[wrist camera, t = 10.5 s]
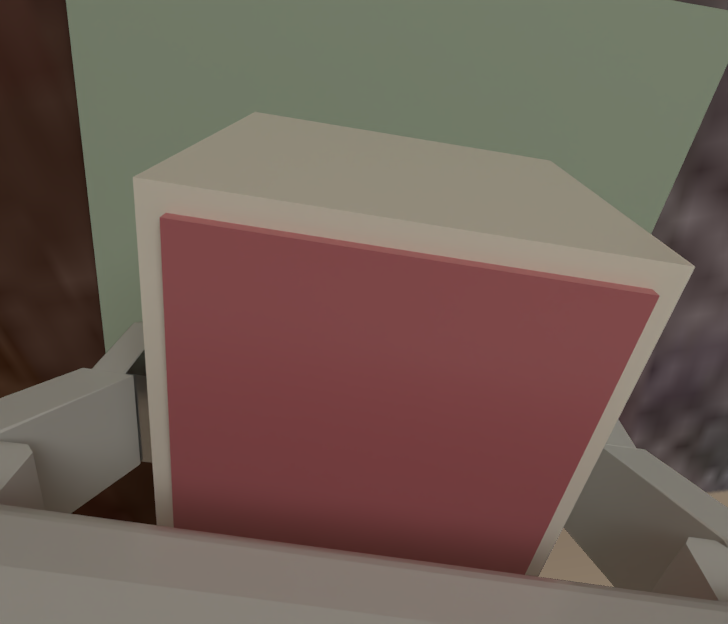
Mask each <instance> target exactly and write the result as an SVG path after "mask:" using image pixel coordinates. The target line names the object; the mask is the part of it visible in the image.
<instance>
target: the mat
mask: <svg viewBox="0 0 728 624" xmlns="http://www.w3.org/2000/svg"><path fill="white" fill-rule="evenodd" d="M66 6H67V15H68V23H69V32H70V41H71V50H72V59H73V68H74V77H75V85H76V94H77V103H78V112H79V121H80V130H81V138H82V147H83V156H84V165H85V174H86V183H87V192H88V200H89V209H90V218H91V227H92V236H93V245H94V253H95V262H96V271H97V280H98V289H99V298H100V307H101V315H102V324H103V333H104V342H105V351H106V353H107V352H108V350H109V349H110V348H111V347H112V346H113V345H114V344H115V343H116V342H117V341H118V339H119V338H120V337H121V336H122V335H123V334H124V333H125V332H126V331H127V330H128V328H129V327H130V326H131V325H132V324H133V323H134V322H139V321H141V322H143V320H142V305H141V291H140V276H139V262H138V247H137V233H136V218H135V204H134V189H133V177H134V176H136V175H137V174H139V173H141V172H143V171H145V170H147V169H149V168H151V167H153V166H154V165H156V164H158V163H160V162H162V161H164V160H166V159H168V158H169V157H171V156H173V155H175V154H177V153H179V152H181V151H183V150H184V149H186V148H188V147H190V146H192V145H194V144H196V143H198V142H199V141H201V140H203V139H205V138H207V137H209V136H211V135H213V134H214V133H216V132H218V131H220V130H222V129H224V128H226V127H228V126H229V125H231V124H233V123H235V122H237V121H239V120H241V119H243V118H244V117H246V116H248V115H250V114H252V113H254V112H260V113H266V114H272V115H278V116H284V117H290V118H296V119H302V120H308V121H314V122H320V123H326V124H332V125H338V126H344V127H350V128H357V129H363V130H369V131H375V132H381V133H387V134H393V135H399V136H405V137H411V138H417V139H423V140H429V141H435V142H441V143H447V144H453V145H459V146H466V147H472V148H478V149H484V150H490V151H496V152H502V153H508V154H514V155H520V156H526V157H532V158H538V159H544V160H550V161H552V162H553V163H554V164H556V165H557V166H558V167H560V168H561V169H563V170H564V171H565V172H567V173H568V174H569V175H571V176H572V177H573V178H575V179H576V180H578V181H579V182H580V183H582V184H583V185H584V186H586V187H587V188H588V189H590V190H591V191H593V192H594V193H595V194H597V195H598V196H599V197H601V198H602V199H604V200H605V201H606V202H608V203H609V204H610V205H612V206H613V207H614V208H616V209H617V210H619V211H620V212H621V213H623V214H624V215H625V216H627V217H628V218H629V219H631V220H632V221H634V222H635V223H636V224H638V225H639V226H640V227H642V228H643V229H644V230H646V231H647V232H649V233H650V234H651V233H652V231H653V229H654V226H655V224H656V222H657V220H658V218H659V215H660V213H661V211H662V209H663V206H664V204H665V202H666V200H667V198H668V195H669V193H670V191H671V189H672V186H673V184H674V182H675V180H676V177H677V175H678V173H679V171H680V169H681V166H682V164H683V162H684V160H685V157H686V155H687V153H688V151H689V148H690V146H691V144H692V142H693V140H694V137H695V135H696V133H697V131H698V128H699V126H700V124H701V122H702V119H703V117H704V115H705V113H706V111H707V108H708V106H709V104H710V102H711V99H712V97H713V95H714V93H715V90H716V88H717V86H718V84H719V82H720V79H721V77H722V75H723V73H724V70H725V68H726V66H727V64H728V10H722V9H717V8H711V7H706V6H700V5H695V4H689V3H684V2H678V1H673V0H66Z"/></svg>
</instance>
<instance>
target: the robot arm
mask: <svg viewBox="0 0 728 624" xmlns="http://www.w3.org/2000/svg"><path fill="white" fill-rule="evenodd" d="M140 461H143V462H152V450H151V435H150V421H149V406H148V392H147V377H146V363H145V349H144V334H143V322H141V321H139V322H134V323H133V324H132V325H131V326H130V327H129V328H128V330H127V331H126V332H125V333H124V334H123V335H122V336H121V337H120V338H119V339H118V341H117V342H116V343H115V344H114V345H113V346H112V347H111V348H110V349H109V350H108V352H107V353H106V354H105V355H104V356H103V357H102V358H101V359H100V360H99V361H98V363H97V364H96V365H95V366H94V367H93V368H92V369H87V368H81V369H78V370H76V371H73V372H70V373H68V374H65V375H62V376H59V377H57V378H54V379H51V380H49V381H46V382H43V383H40V384H38V385H35V386H32V387H30V388H27V389H24V390H22V391H19V392H16V393H13V394H11V395H8V396H5V397H3V398H0V624H728V508H727V507H726V506H724V505H723V504H722V503H720V502H719V501H717V500H716V499H714V498H713V497H711V496H710V495H709V494H707V493H706V492H704V491H703V490H702V489H700V488H699V487H697V486H696V485H694V484H693V483H692V482H690V481H689V480H687V479H686V478H685V477H683V476H682V475H680V474H679V473H677V472H676V471H675V470H673V469H672V468H670V467H669V466H667V465H666V464H665V463H663V462H662V461H660V460H659V459H657V458H656V457H655V456H653V455H652V454H650V453H649V452H647V451H646V450H643V449H637V448H636V447H635V445H634V444H633V442H632V441H631V439H630V437H629V436H628V434H627V433H626V431H625V429H624V428H623V426H622V424H621V423H620V421H619V420H617V422H616V424H615V426H614V428H613V430H612V432H611V434H610V436H609V438H608V440H607V442H606V444H605V446H604V448H603V450H602V452H601V454H600V456H599V458H598V460H597V462H596V464H595V466H594V468H593V470H592V472H591V474H590V476H589V478H588V480H587V481H586V483H585V485H584V487H583V489H582V491H581V493H580V495H579V497H578V499H577V501H576V503H575V505H574V507H573V509H572V511H571V513H570V515H569V517H568V519H567V521H566V523H565V525H564V528H565V530H566V531H567V532H568V533H569V534H570V535H571V537H572V538H573V539H574V540H575V541H576V542H577V544H578V545H579V546H580V547H581V548H582V549H583V551H584V552H585V553H586V554H587V555H588V556H589V558H590V559H591V560H592V561H593V562H594V563H595V564H596V566H597V567H598V568H599V569H600V570H601V572H602V573H603V574H604V575H605V576H606V577H607V579H608V580H609V581H610V582H611V583H612V584H613V586H614V587H609V586H602V585H594V584H587V583H580V582H573V581H566V580H558V579H551V578H544V577H536V576H529V575H522V574H514V573H507V572H500V571H493V570H485V569H478V568H471V567H463V566H456V565H449V564H441V563H434V562H426V561H419V560H411V559H404V558H396V557H389V556H382V555H374V554H367V553H359V552H352V551H344V550H337V549H329V548H322V547H314V546H307V545H299V544H292V543H284V542H277V541H269V540H262V539H255V538H247V537H240V536H232V535H225V534H217V533H210V532H202V531H195V530H188V529H180V528H173V527H165V526H158V525H151V524H143V523H136V522H128V521H121V520H113V519H106V518H99V517H91V516H84V515H76V514H71V513H72V512H74V511H75V510H76V509H78V508H79V507H81V506H82V505H83V504H85V503H86V502H88V501H89V500H91V499H92V498H93V497H95V496H96V495H98V494H99V493H100V492H102V491H103V490H105V489H106V488H107V487H109V486H110V485H112V484H113V483H114V482H116V481H117V480H119V479H120V478H121V477H123V476H124V475H126V474H127V473H128V472H130V471H131V470H133V469H134V468H135V467H137V466H138V465H140Z"/></svg>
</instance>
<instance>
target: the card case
mask: <svg viewBox="0 0 728 624" xmlns="http://www.w3.org/2000/svg"><path fill="white" fill-rule="evenodd" d="M133 189H134V204H135V218H136V233H137V247H138V262H139V276H140V291H141V305H142V320H143V334H144V349H145V363H146V377H147V392H148V406H149V421H150V435H151V450H152V464H153V479H154V493H155V508H156V522H157V525H158V526H165V527H173V528H180V529H188V530H195V531H202V532H210V533H217V534H225V535H232V536H240V537H247V538H255V539H262V540H269V541H277V542H284V543H292V544H299V545H307V546H314V547H322V548H329V549H337V550H344V551H352V552H359V553H367V554H374V555H382V556H389V557H396V558H404V559H411V560H419V561H426V562H434V563H441V564H449V565H456V566H463V567H471V568H478V569H485V570H493V571H500V572H507V573H514V574H522V575H529V576H536V577H538V576H539V574H540V572H541V570H542V568H543V567H544V565H545V563H546V560H547V559H548V557H549V555H550V552H551V551H552V549H553V547H554V544H555V543H556V541H557V539H558V537H559V535H560V533H561V531H562V529H563V527H564V525H565V523H566V521H567V519H568V517H569V515H570V513H571V511H572V509H573V507H574V505H575V503H576V501H577V499H578V497H579V495H580V493H581V491H582V489H583V487H584V485H585V483H586V481H587V480H588V478H589V476H590V474H591V472H592V470H593V468H594V466H595V464H596V462H597V460H598V458H599V456H600V454H601V452H602V450H603V448H604V446H605V444H606V442H607V440H608V438H609V436H610V434H611V432H612V430H613V428H614V426H615V424H616V422H617V420H618V418H619V416H620V414H621V412H622V410H623V408H624V406H625V404H626V402H627V400H628V398H629V396H630V395H631V393H632V391H633V389H634V387H635V385H636V383H637V381H638V379H639V377H640V375H641V373H642V371H643V369H644V367H645V365H646V363H647V361H648V359H649V357H650V355H651V353H652V351H653V349H654V347H655V345H656V343H657V341H658V339H659V337H660V335H661V333H662V331H663V329H664V327H665V325H666V323H667V321H668V319H669V317H670V315H671V313H672V311H673V310H674V308H675V306H676V304H677V302H678V300H679V298H680V296H681V294H682V292H683V290H684V288H685V286H686V284H687V282H688V280H689V278H690V276H691V274H692V272H693V270H694V268H695V266H694V265H692V264H691V263H689V262H688V261H687V260H685V259H684V258H683V257H681V256H680V255H679V254H677V253H676V252H674V251H673V250H672V249H670V248H669V247H668V246H666V245H665V244H664V243H662V242H661V241H659V240H658V239H657V238H655V237H654V236H653V235H651V234H650V233H649V232H647V231H646V230H644V229H643V228H642V227H640V226H639V225H638V224H636V223H635V222H634V221H632V220H631V219H629V218H628V217H627V216H625V215H624V214H623V213H621V212H620V211H619V210H617V209H616V208H614V207H613V206H612V205H610V204H609V203H608V202H606V201H605V200H604V199H602V198H601V197H599V196H598V195H597V194H595V193H594V192H593V191H591V190H590V189H588V188H587V187H586V186H584V185H583V184H582V183H580V182H579V181H578V180H576V179H575V178H573V177H572V176H571V175H569V174H568V173H567V172H565V171H564V170H563V169H561V168H560V167H558V166H557V165H556V164H554V163H553V162H552V161H550V160H544V159H538V158H532V157H526V156H520V155H514V154H508V153H502V152H496V151H490V150H484V149H478V148H472V147H466V146H459V145H453V144H447V143H441V142H435V141H429V140H423V139H417V138H411V137H405V136H399V135H393V134H387V133H381V132H375V131H369V130H363V129H357V128H350V127H344V126H338V125H332V124H326V123H320V122H314V121H308V120H302V119H296V118H290V117H284V116H278V115H272V114H266V113H260V112H254V113H252V114H250V115H248V116H246V117H244V118H243V119H241V120H239V121H237V122H235V123H233V124H231V125H229V126H228V127H226V128H224V129H222V130H220V131H218V132H216V133H214V134H213V135H211V136H209V137H207V138H205V139H203V140H201V141H199V142H198V143H196V144H194V145H192V146H190V147H188V148H186V149H184V150H183V151H181V152H179V153H177V154H175V155H173V156H171V157H169V158H168V159H166V160H164V161H162V162H160V163H158V164H156V165H154V166H153V167H151V168H149V169H147V170H145V171H143V172H141V173H139V174H137V175H136V176H134V177H133Z"/></svg>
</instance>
